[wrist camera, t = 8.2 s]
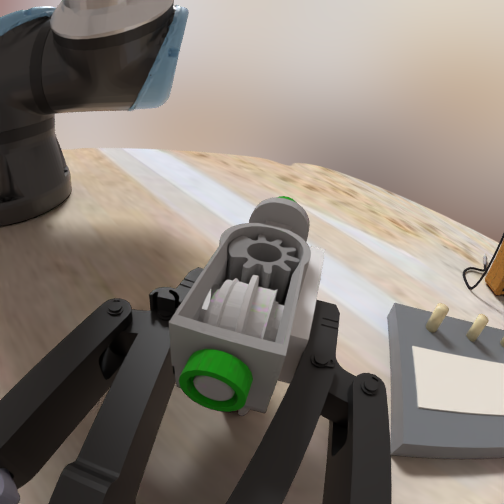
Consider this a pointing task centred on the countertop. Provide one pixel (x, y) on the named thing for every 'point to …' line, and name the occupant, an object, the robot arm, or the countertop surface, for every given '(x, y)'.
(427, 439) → the board
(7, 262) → the countertop surface
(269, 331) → the mechanical component
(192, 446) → the countertop surface
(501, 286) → the multimeter
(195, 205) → the countertop surface
